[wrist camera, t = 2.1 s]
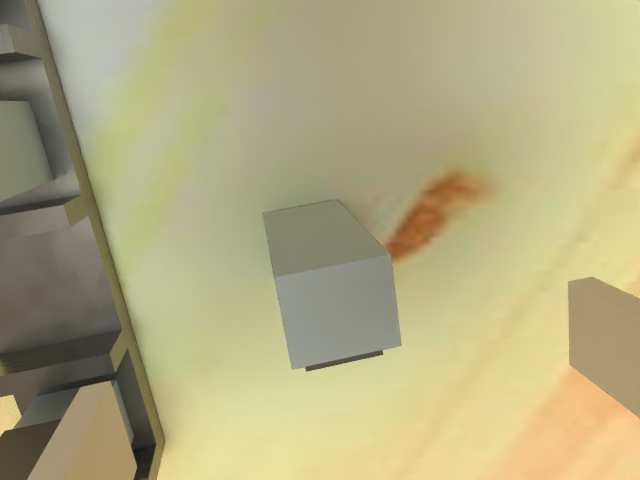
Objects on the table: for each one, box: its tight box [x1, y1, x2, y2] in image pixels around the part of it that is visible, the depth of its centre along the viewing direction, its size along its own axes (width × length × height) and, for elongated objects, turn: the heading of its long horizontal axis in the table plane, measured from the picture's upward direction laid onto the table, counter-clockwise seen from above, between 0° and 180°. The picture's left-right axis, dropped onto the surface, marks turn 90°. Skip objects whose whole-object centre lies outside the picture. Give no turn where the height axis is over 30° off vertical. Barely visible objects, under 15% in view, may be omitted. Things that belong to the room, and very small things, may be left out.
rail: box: [0, 0, 165, 480], centre depth 22 cm, size 29×6×4 cm, turn 9°
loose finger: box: [263, 200, 401, 371], centre depth 22 cm, size 4×4×10 cm
